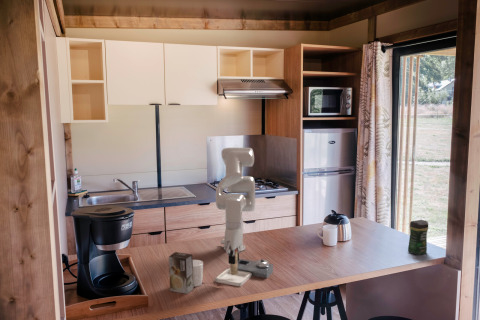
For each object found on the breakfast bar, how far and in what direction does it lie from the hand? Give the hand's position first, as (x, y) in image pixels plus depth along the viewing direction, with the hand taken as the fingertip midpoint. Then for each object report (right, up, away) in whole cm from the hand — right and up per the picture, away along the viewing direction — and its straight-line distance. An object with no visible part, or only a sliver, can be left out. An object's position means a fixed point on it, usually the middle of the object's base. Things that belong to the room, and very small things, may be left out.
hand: (233, 261), depth 190 cm
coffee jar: (+103, -5, +38) cm, 110 cm away
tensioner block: (+9, -8, +9) cm, 15 cm away
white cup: (-18, -10, -2) cm, 21 cm away
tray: (0, -9, +1) cm, 9 cm away
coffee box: (-23, -11, -8) cm, 27 cm away
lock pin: (0, -6, +1) cm, 6 cm away
